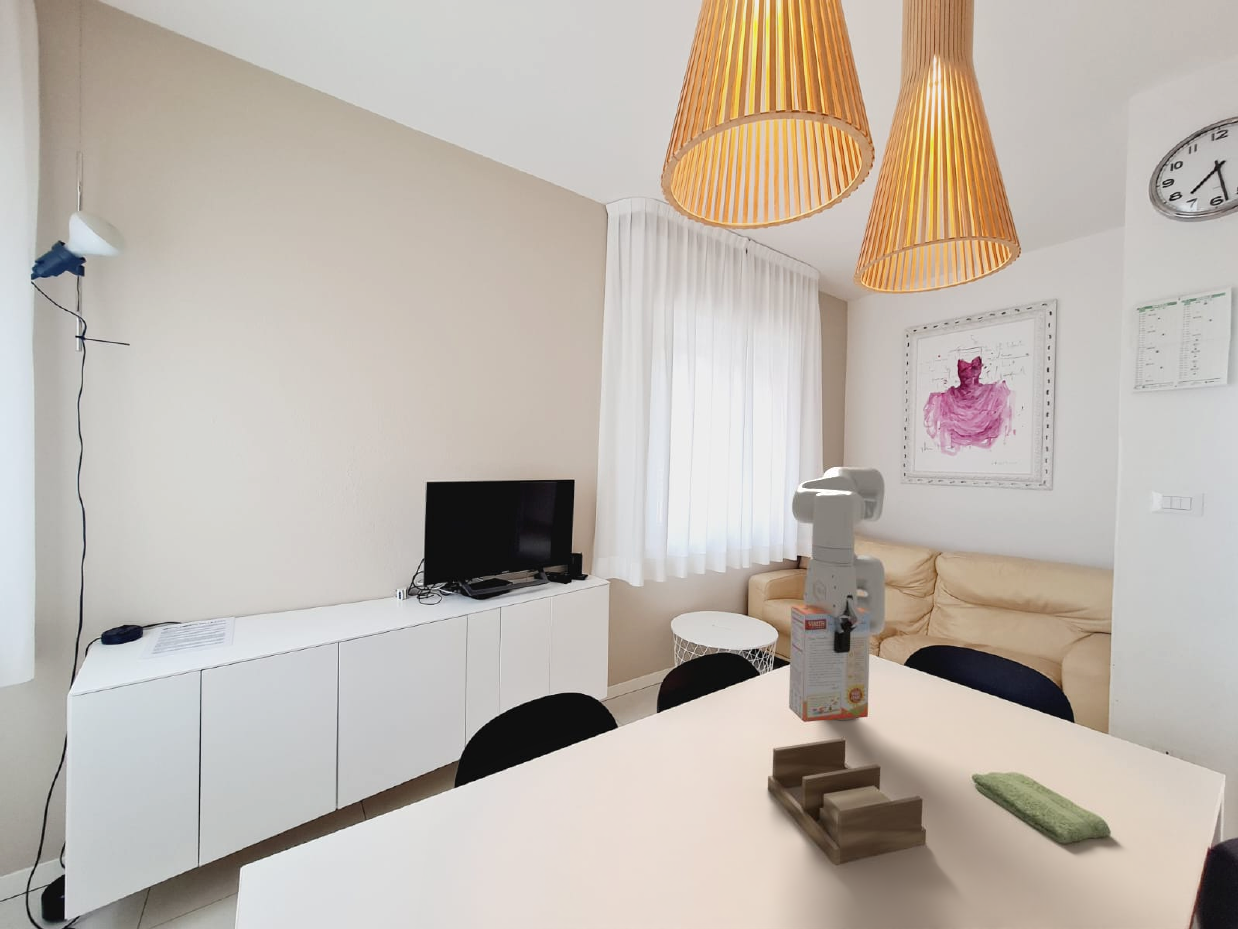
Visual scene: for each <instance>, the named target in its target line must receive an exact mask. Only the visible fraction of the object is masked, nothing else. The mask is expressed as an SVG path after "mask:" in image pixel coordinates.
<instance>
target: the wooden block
mask: <svg viewBox="0 0 1238 929" xmlns="http://www.w3.org/2000/svg"><path fill="white" fill-rule="evenodd" d="M889 801H892V800H891V799H890V798H889V797H888V796H887V795H886V794H884V793H883V792H882V791H881V790H880V791H879V790H878V789H877V788H876V787H875V786H869V787H863V788H857V789H851V790H845V791H839V792H833V793H827V794H824V805H823V808H820V815H819V820H818V823H819V824H818V825H819V826H820V827H821V828H822V829H823V830H824V831H825V832H826V833H827V835H828V836H829V837H830V838H831V839H832V840H833V841H834V842H835V843H836V844H837V830H838V812H839V811H844V810H849V809H854V808H859V807H864V806H869V805H874V804H879V803H884V802H889Z"/></svg>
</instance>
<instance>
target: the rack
mask: <svg viewBox="0 0 1238 929" xmlns="http://www.w3.org/2000/svg"><path fill="white" fill-rule="evenodd" d="M846 741H847V740H846V739H845V738H843V737H841V738H836V739H834V738H833V739H828V740H821V741H812V742H809V743H808V742H807V743H802V744H794V745H793V744H792V745H787V746H780V747H773V748H772V752H773V753H772V775H768V776H767V790H768V791H769V792H770V793H771V794H772V795H773V796H774V797H775V799H776V800H777V801H778V802H779V803H780V805H782V806H783V808H784V809H785V810H786V811H787V812H788V814H790V816H792V818H793V819H794V820H795V821H796V822H797V824H798V825H799V826H800V827H801V828H802V829H803V830H804V832H805V833H806V834H807V835H808V836H809V837H810V839H812V841H813V842H814V843H815V844H816V845H817V847H818V848H819V849H821V851H822V852H823V853H824V854H825V856H827V858H828V859H829V860H830V861H831V862H832V864H834V866H836V865H840V864H845V863H848V862H854V861H857V860H862V859H866V858H867V859H868V858H871V857H874V856H879V855H883V854H887V853H891V852H897V851H899V850H904V849H908V848H909V849H910V848H913V847H917V846H922V845H926V840H927V839H926V838H927V828H925V827H924V826H923V824H922V823H923V798H922V797H921V796H920V795H915V796H911V797H906V798H905V797H904V798H901V799H895V800H891V801H889V802H884V803H879V804H874V805H869V806H864V807H859V808H854V809H849V810H844V811H839V812H838V830H837V844H836V843H835V842H834V841H833V840H832V839H831V838H830V836H829V835H828V834H827V833H826V831H825V830H824V829H823V827H822V826H821V825H820V824H818V823H817V821H818V822H819V815H820V808H823V805H824V794H827V793H833V792H839V791H845V790H851V789H857V788H863V787H869V786H875V787H876V788H877V789H878V790H879V791H881V790H880V789H881V766H880V765H879V764H870V765H866V766H858V767H853V768H852V767H851V766H850V765H849V764H847V762H846ZM797 787H801V805H800V803H799V802H798V801H797V800H796V799H795V798H794V797H793V795H791V793H790V792H789V791H787V789H789V788H797Z"/></svg>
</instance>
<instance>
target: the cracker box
mask: <svg viewBox="0 0 1238 929" xmlns="http://www.w3.org/2000/svg"><path fill="white" fill-rule="evenodd" d="M857 609H858V611H859V612H860V614H861V616H862V618H863V621H862V622H861V623H860V624H859V625H857V627H856V628H855V629H853V632H851V635H850V651H849V652H845V653H836V652H835V651H834V636H835V631H837V627H836V623H835V618H833V617H830V616H828V615H827V614H826V613H825V612H823V611H821V610H819V609H817V608H815V607H813V606H806V605H798V606H797V605H794V606H791V607H790V647H789V648H790V649H789V650H790V652H789V653H790V655H789V656H790V657H789V689H788V690H789V696H788V697H789V701H788V704H789V705H788V708H789V709H790V710H791V711H792V712H793V713H794V714H795V715H796V716H797V717H798V718H799V719H800V720H801V721H803V722H804V723H808V722H822V721H833V720H834V721H835V720H838V719H848V718H853V719H856V718H857V719H859V718H867V717H868V714H869V680H870V679H869V678H870V677H869V675H870V638H871V634H870V612H868V611H866V610H863V609H861V608H859V607H857ZM843 615H845V613H843ZM850 617H851V616H850ZM841 620H842V624H844V623H845V618H844V619H841Z"/></svg>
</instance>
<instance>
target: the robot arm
mask: <svg viewBox="0 0 1238 929" xmlns="http://www.w3.org/2000/svg"><path fill="white" fill-rule="evenodd" d="M885 490H886V488H885V480H884V477H883V474H882V473H881V472H880V471H879V470H878V469H877V468H874V467H856V466H855V467H852V466H849V467H848V466H837V467H832V468H829V469H828V470H826V471H825V473H824V474H823V475H822V477H821V478H817V479H813V480H808V481H804V482H802V483H800V484H799V485H798V487H797V488H796V490H795V491H794V495H793V497H792V504H791V511H792V514H793V516H794V518H795V520H796V521H797V522H799V523H802V524H808V525H809V524H811V525H812V536H811V537H812V542H811V543H812V545H811V546H812V548H811V557H810V558H809V561H808V563H807V567H806V568H807V569H806V576H805V582H804V593H803V595H802V599H803V601H804V603H805V606H813V607H815V608H817V609H819V610H821V611H823V612H825V613H826V614H827V615H828V616H830V617H833V618H835V623H836V627H837V631H835V636H834V651H835V652H836V653H845V652H849V651H850V635H851V632H853V629H855V628H856V627H857V625H859V624H860V623H861V622H862V621H863V618H862V616H861V614H860V612H859V611H858V609H857V607H859V608H861V609H863V610H866V611H868V612H870V635H879V634H881V633H882V632H883V630H884V628H885V622H886V620H885V619H886V611H885V610H886V575H885V574H886V572H885V567H884V565H883V562H882V560H880V559H879V558H878V557H876V556H872V555H861V554H856V553H855V542H856V541H855V540H856V539H855V527H856V526H858V525H859V524H860V523H861V522H865V523H866V522H867V523H868V522H869V523H871V522H872V523H873V522H877V521H878V520H879V519H881V516H882V513H883V509H884V501H885V500H884V499H885ZM858 591H861V592H863V593H865V596H864V595H858ZM843 613H845V615H843ZM850 616H851V617H850ZM844 618H845V623H844V624H842V620H841V619H844ZM852 719H854V718H848V719H837V720H841V721H848V720H852Z"/></svg>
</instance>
